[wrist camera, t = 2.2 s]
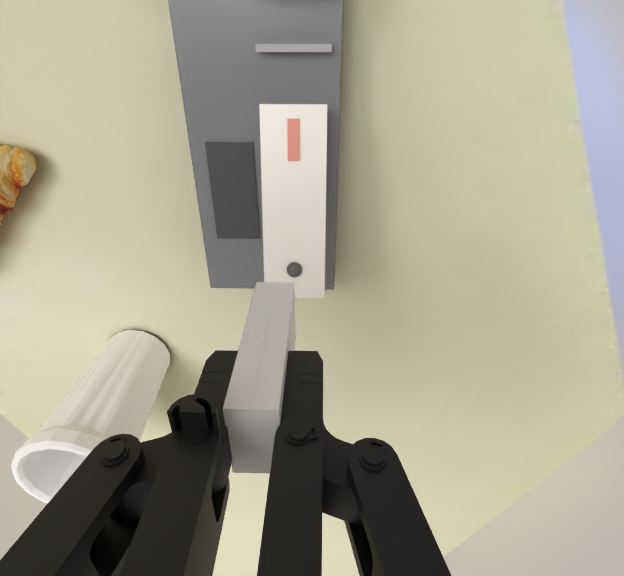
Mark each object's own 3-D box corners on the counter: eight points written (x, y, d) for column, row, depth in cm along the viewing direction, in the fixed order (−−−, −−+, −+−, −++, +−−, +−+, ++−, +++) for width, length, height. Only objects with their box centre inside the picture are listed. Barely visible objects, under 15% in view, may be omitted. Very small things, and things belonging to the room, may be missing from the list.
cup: (125, 305, 40) (37, 427, 28) (196, 351, 43) (144, 480, 30) (85, 353, 43) (-9, 481, 31) (154, 392, 46) (92, 524, 34)
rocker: (264, 108, 27) (258, 103, 25) (327, 108, 27) (327, 103, 25) (268, 289, 30) (264, 298, 28) (324, 290, 30) (324, 299, 28)
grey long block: (135, -379, 20) (89, -478, 16) (352, -384, 19) (358, -486, 16) (219, 266, 37) (208, 294, 34) (333, 268, 37) (334, 296, 33)
